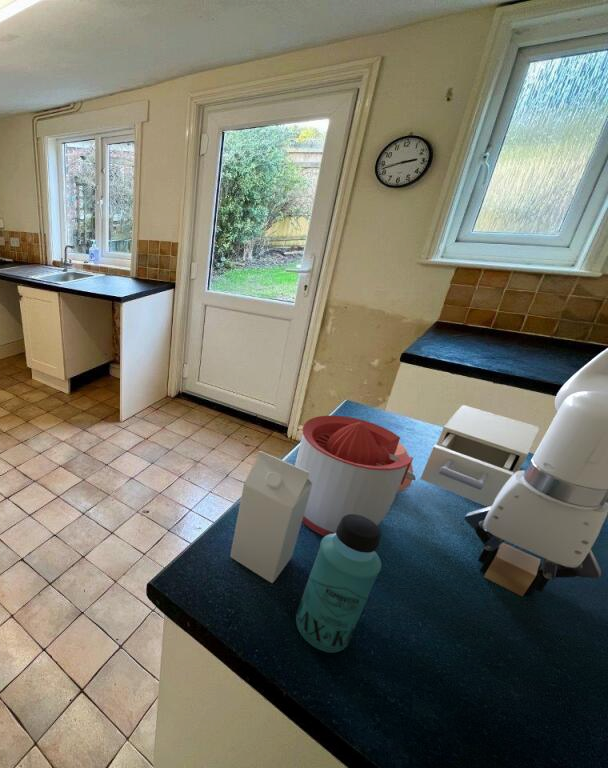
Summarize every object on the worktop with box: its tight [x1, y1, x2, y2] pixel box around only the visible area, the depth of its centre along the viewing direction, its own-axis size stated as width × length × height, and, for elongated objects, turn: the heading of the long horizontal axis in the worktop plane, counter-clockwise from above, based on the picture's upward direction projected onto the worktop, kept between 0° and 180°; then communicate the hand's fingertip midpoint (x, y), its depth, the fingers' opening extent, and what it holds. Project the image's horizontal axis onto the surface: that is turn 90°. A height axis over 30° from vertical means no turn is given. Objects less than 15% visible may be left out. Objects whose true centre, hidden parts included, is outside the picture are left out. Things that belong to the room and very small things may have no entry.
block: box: [483, 542, 542, 597], centre depth 62 cm, size 4×4×4 cm
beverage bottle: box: [295, 514, 382, 654], centre depth 51 cm, size 6×7×20 cm
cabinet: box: [435, 404, 541, 475], centre depth 86 cm, size 15×13×10 cm
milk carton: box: [229, 450, 312, 584], centre depth 63 cm, size 7×7×19 cm
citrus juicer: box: [294, 415, 416, 537], centre depth 70 cm, size 16×17×20 cm
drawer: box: [420, 433, 516, 508], centre depth 79 cm, size 19×11×8 cm, turn 130°
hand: (506, 576), depth 63 cm, fingers closed on block, 4 cm apart
